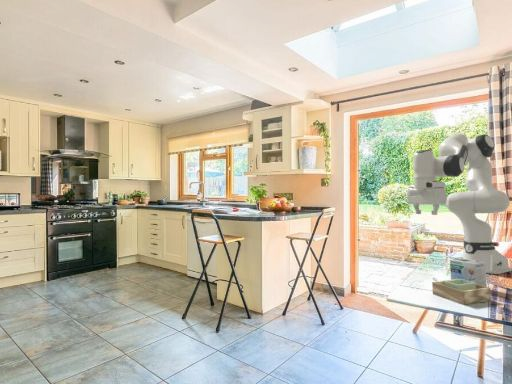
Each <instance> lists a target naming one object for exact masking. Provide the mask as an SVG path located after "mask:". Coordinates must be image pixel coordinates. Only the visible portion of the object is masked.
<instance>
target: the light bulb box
mask: <svg viewBox="0 0 512 384" xmlns="http://www.w3.org/2000/svg"><path fill="white" fill-rule="evenodd" d="M449 263H450V264H449V267H450V268H449V269H450V270H449V272H450V280H454V279H463V280H467V281H471V282H475V283H476V284H478V285H481V286H485V287H488V286H487V273H486V264H485V262H481V261H475V260H469V259H463V257H462V258H461V257H459V258H458V257H457V258H454V259H453V258H451V259H450V260H449Z"/></svg>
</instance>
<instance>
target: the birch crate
mask: <svg viewBox="0 0 512 384" xmlns="http://www.w3.org/2000/svg"><path fill="white" fill-rule="evenodd" d="M449 280H450V279H448V280H438V281H432V284H431V285H432V295H435V296H438V297H441V298H443V299H446V300H449V301H452V302H455V303H458V304H460V305H471V304H478V303H483V302H490V301H492V297H491V295H492V294H491V287H488V286H487V287H485V286H481V285H478V284H476V289H474V290H467V291H461V290H458V289H454V288H451V287H448V286H445V285H444V281H449ZM454 280H456V279H454Z"/></svg>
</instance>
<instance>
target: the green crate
mask: <svg viewBox="0 0 512 384" xmlns="http://www.w3.org/2000/svg"><path fill="white" fill-rule="evenodd" d="M448 280H449V281H446V280H443V281H444V285H445V286H448V287H451V288H454V289H458V290H461V291H467V290H474V289H476V283H475V282H471V281H467V280H463V279H456V280H451V279H448Z"/></svg>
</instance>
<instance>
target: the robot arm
mask: <svg viewBox="0 0 512 384" xmlns="http://www.w3.org/2000/svg"><path fill="white" fill-rule="evenodd" d="M495 145H496V144H495V142H494V140H493V139H492V138H491V136H489V135H487V134H480V135H477V136H475V137H473V138H471V139H468V136H466V135H465V134H463V133H460V132H458V133H453V134H451V135H449V136H448V137H446V138H445V139H444V140H442V142H440V144H439V146H438V151H437V152H438V154H439V156H437V157H435V156H434V152H433V150H432V149H422V150H417V151H416V152H414V154H413V160H412V162H413V163H412V167H413V172H414V176H413V185H410V186H409V187H408V189H407V195H406V202H407V205H413V209H414V210H415V215H422V210H421V209H420V205H432V208H433V209H432V210H431V215H432V216H437V215H438V211H439V209H440V206H441V205H445V206H446V208H447V209H448V211H450V212H451V213H453V214H454V215H455V216H456V217H457V218H458V219H459V220H460V222H461V225H462V228H463V229H462V230H463V234H464V240H463V248H464V250H463V254H462V255H463V256H462V258H463V259H469V260H475V261H481V262H485V264H486V274H494V275H500V274H504V273H508V272H509V273H510V272H512V266H509V263H508V259H507V256H505V255H504V254H502V253H501V252H499V251H498V250H497V249H496V247H499V246H500V243H499V242H497V241H496V242H495V241H493V239H492V238H493V236H492V227H491V225H490V224H489V223H488V222H486V221H484V220H482V219H479V218H478V217H477V216H476V214H497V213H504V212H505V211H507V210H508V208H509V207H510V203H511V202H510V198H509V196H508V195H507V194H506V193H505V192H504V191H501V190H500V189H497V188H496V187H494V186H493V167H492V164H491V162H490V160H489V159H488V158H490V157H492V155H493V152H494V150H495ZM466 164H468V167H467V171H466V177H465V182H464V183H465V188H466V189H467V190H468V191H458V192H452V193H449V194H448V193H447V189H446V186H447V185H446V182H444V181H440V180H437V179H436V178H446V177H450V178H451V177H453V178H454V177H455V178H457V177H460V175H462V173H463V172H464V170H465V165H466ZM447 194H448V195H447Z"/></svg>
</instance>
